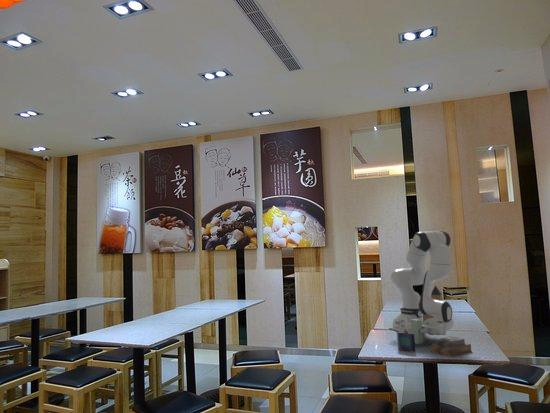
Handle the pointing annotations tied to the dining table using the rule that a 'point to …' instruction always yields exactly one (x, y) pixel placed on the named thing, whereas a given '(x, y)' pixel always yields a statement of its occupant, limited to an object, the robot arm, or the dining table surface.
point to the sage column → (417, 330)
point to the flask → (406, 341)
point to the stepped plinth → (451, 350)
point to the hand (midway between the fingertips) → (415, 330)
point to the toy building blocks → (434, 295)
